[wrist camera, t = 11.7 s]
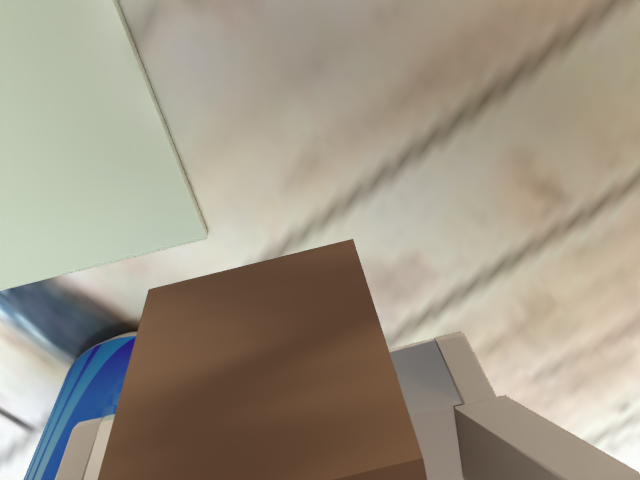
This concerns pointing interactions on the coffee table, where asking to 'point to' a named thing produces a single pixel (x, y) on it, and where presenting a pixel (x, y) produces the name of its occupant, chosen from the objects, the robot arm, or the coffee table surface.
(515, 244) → the coffee table surface
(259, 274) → the walnut block
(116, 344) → the beer can
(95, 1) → the sage tile
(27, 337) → the coffee table surface
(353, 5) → the coffee table surface
